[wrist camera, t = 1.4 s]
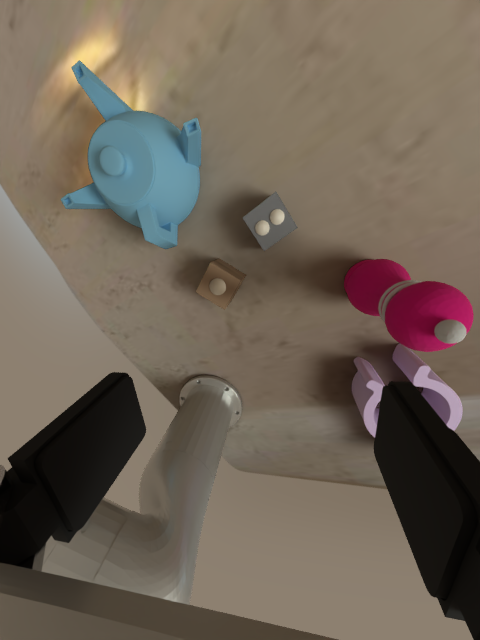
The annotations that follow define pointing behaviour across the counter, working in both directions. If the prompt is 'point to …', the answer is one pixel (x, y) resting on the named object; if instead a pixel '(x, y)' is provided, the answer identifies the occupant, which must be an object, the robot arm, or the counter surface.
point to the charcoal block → (270, 221)
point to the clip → (419, 373)
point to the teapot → (139, 165)
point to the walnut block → (220, 283)
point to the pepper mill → (409, 305)
